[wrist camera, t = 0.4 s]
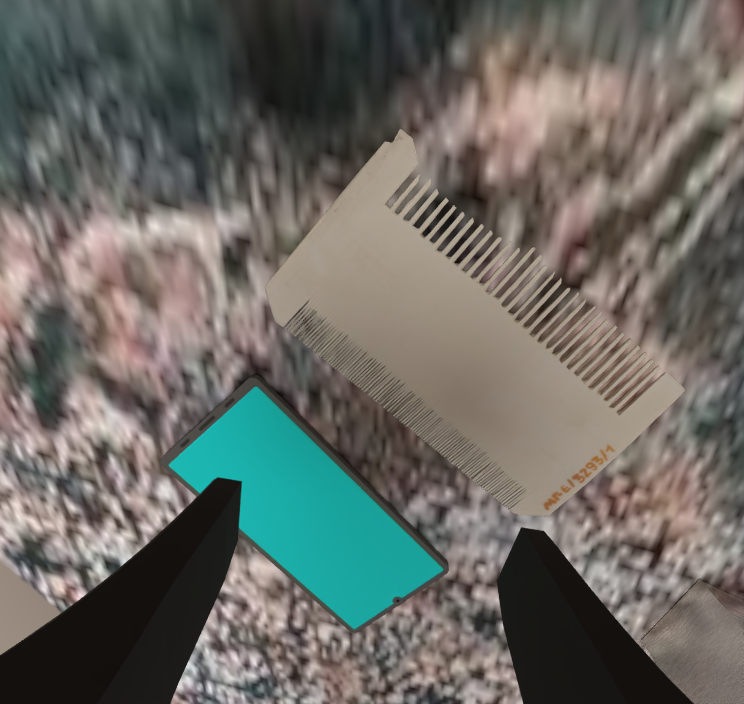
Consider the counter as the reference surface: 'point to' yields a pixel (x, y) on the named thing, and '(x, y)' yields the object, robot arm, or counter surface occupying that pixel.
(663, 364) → the counter surface
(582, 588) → the robot arm
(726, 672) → the brushed metal cube
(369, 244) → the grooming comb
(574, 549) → the counter surface
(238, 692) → the counter surface
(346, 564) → the smartphone
